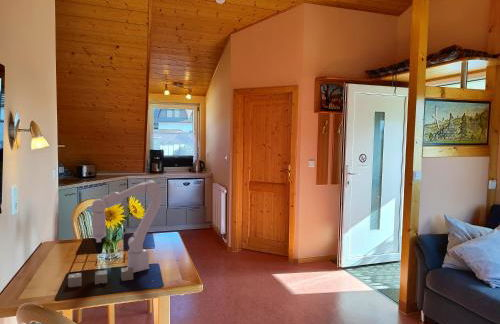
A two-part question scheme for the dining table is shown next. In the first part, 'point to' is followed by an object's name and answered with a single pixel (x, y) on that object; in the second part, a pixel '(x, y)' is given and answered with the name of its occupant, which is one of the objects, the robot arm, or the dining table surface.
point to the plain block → (100, 277)
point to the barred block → (127, 273)
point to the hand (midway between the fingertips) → (99, 253)
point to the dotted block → (74, 280)
